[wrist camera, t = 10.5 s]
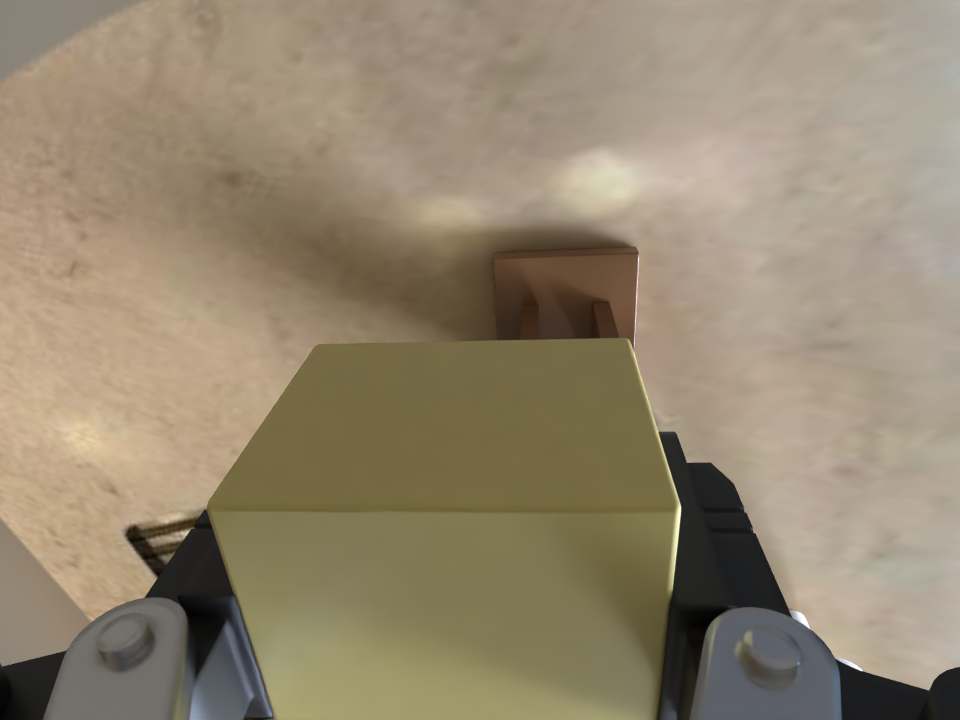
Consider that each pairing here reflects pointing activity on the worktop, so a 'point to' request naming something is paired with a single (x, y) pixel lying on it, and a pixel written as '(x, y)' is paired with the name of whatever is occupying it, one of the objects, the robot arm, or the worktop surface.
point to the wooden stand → (566, 294)
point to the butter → (456, 534)
